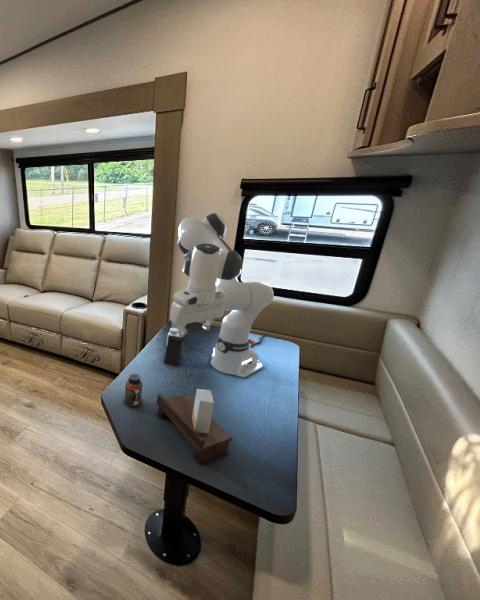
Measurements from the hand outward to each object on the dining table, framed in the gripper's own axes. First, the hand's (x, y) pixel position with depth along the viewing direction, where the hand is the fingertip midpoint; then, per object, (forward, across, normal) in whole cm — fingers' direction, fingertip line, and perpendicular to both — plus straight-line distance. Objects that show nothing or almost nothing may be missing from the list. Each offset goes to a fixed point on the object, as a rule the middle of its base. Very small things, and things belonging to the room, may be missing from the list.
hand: (195, 331), depth 109 cm
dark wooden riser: (+29, +9, +14) cm, 33 cm away
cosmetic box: (+23, +9, +18) cm, 31 cm away
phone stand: (+29, -13, -25) cm, 41 cm away
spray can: (+29, -28, -42) cm, 58 cm away
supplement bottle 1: (+29, +19, -6) cm, 35 cm away
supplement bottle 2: (+29, -20, -35) cm, 50 cm away
